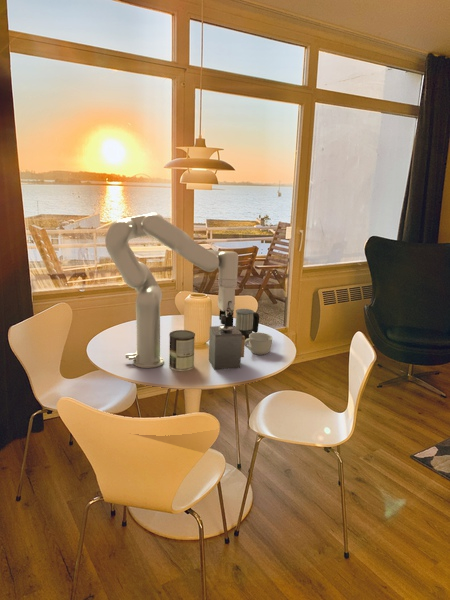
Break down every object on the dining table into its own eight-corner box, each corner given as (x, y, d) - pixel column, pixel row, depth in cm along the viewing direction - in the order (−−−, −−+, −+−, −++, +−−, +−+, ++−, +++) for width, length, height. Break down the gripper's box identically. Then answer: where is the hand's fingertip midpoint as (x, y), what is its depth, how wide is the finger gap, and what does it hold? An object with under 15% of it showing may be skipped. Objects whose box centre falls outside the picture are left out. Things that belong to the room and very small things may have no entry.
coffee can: (164, 368, 174) (164, 335, 171) (176, 360, 184) (176, 328, 180) (187, 373, 171) (188, 339, 168) (198, 364, 180) (199, 332, 177)
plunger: (217, 360, 176) (219, 317, 172) (213, 353, 184) (214, 312, 180) (236, 359, 178) (238, 317, 174) (231, 353, 186) (233, 312, 181)
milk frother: (246, 344, 207) (248, 314, 204) (219, 337, 215) (220, 308, 212) (260, 336, 219) (262, 308, 216) (233, 330, 227) (235, 303, 224)
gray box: (214, 369, 175) (215, 334, 172) (208, 359, 186) (209, 326, 182) (246, 367, 179) (248, 333, 175) (239, 358, 189) (240, 325, 185)
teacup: (265, 347, 204) (266, 331, 202) (275, 355, 194) (277, 338, 192) (237, 350, 199) (238, 333, 197) (247, 358, 189) (248, 341, 187)
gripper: (213, 278, 181) (212, 317, 185) (223, 286, 164) (222, 329, 168) (231, 278, 183) (229, 317, 187) (242, 286, 166) (240, 329, 170)
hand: (225, 323), depth 178 cm, fingers open, 9 cm apart
